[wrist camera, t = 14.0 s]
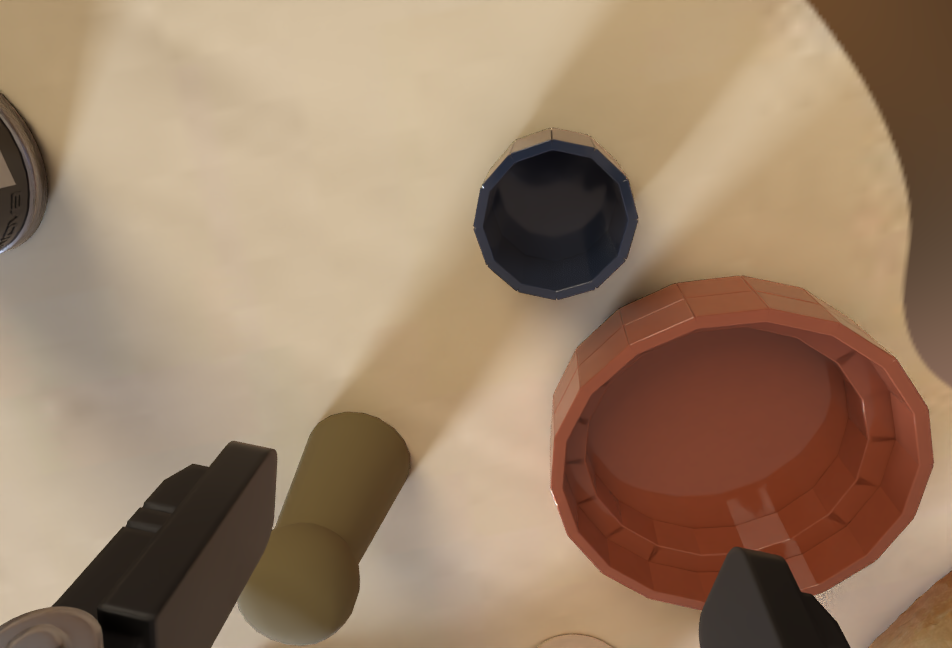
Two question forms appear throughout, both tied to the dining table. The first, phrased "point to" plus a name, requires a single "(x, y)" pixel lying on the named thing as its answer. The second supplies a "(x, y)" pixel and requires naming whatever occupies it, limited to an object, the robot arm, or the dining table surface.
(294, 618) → the cork
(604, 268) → the bowl
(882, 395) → the serving bowl
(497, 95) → the dining table surface
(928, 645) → the bread roll
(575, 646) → the beer glass
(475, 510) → the dining table surface
